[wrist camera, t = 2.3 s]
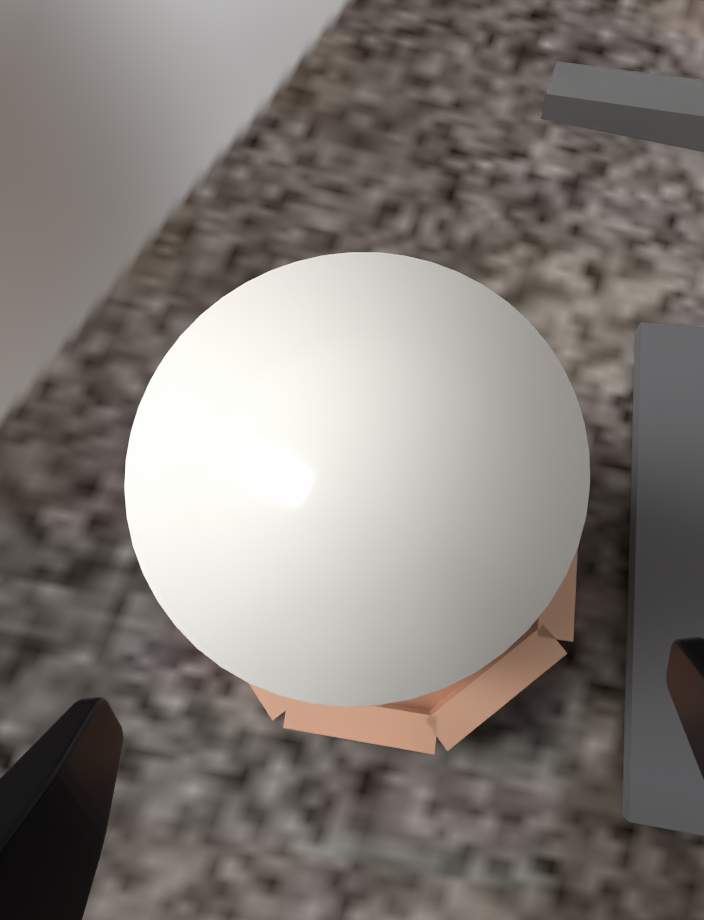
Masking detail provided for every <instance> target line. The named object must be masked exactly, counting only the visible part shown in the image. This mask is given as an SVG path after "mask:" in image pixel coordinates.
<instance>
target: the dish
mask: <svg viewBox="0 0 704 920" xmlns="http://www.w3.org/2000/svg"><path fill="white" fill-rule="evenodd" d="M577 552H578V548H577V551H576V553H575V555H574V558H573V560H572V562H571V565H570V567H569V570H568V572H567V574H566V576H565V578H564V580H563V581H562V583H561V585H560V586H559V588H558V590H557V592H556V593H555V595H554V597H553V598H552V600H551V602H550V603H549V605H548V606H547V607H546V608H545V610H544V611H543V612H542V613H541V615H540V616H539V617H538V618H537V620H536V621H535V622H534V623H533V624H532V626H531V627H530V628H529V629H528V631H526V632H525V633H524V634H523V635H522V636H521V637H520V638H519V639H518V640H517V641H516V642H515V643H514V644H512V645H511V646H510V647H509V648H508V649H507V650H506V651H505V652H504V653H503V654H501V655H500V656H498V657H497V658H496V659H494V660H493V661H491V662H490V663H488V664H487V665H485V666H484V667H483V668H481V669H480V670H478V671H477V672H475V673H473V674H472V675H470V676H468V677H466V678H464V679H462V680H460V681H458V682H456V683H454V684H452V685H450V686H448V687H446V688H443V689H440V690H437V691H434V692H431V693H429V694H426V695H423V696H420V697H417V698H414V699H409V700H404V701H399V702H393V703H388V704H383V705H372V706H350V707H343V706H333V705H323V704H312V703H308V702H304V701H300V700H296V699H292V698H287V697H283V696H279V695H277V694H274V693H272V692H269V691H267V690H264V689H262V688H259V687H257V686H254V685H252V684H249V685H250V686H251V688H252V689H253V691H254V692H255V694H256V696H257V697H258V699H259V700H260V702H261V703H262V705H263V706H264V708H265V710H266V711H267V713H268V714H269V716H270V717H271V719H272V720H274V719H275V718H277V717H278V716H279V715H281V714H282V713H283V712H285V711H286V713H285V720H284V726H283V728H287V729H293V730H298V731H304V732H310V733H315V734H321V735H327V736H332V737H338V738H344V739H349V740H355V741H361V742H366V743H372V744H378V745H383V746H389V747H395V748H400V749H406V750H412V751H417V752H423V753H429V754H434V755H435V745H436V738H438V739H439V740H440V742H441V743H442V744H443V746H444V747H445V749H446V750H447V751H448V750H450V749H451V748H452V747H453V746H454V745H456V744H457V743H458V742H459V741H461V740H462V739H463V738H464V737H466V736H467V735H468V734H469V733H470V732H472V731H473V730H474V729H475V728H477V727H478V726H479V725H480V724H481V723H483V722H484V721H485V720H486V719H488V718H489V717H490V716H491V715H493V714H494V713H495V712H496V711H497V710H499V709H500V708H501V707H502V706H504V705H505V704H506V703H508V702H509V701H510V700H511V699H512V698H513V697H515V696H516V695H517V694H518V693H519V692H521V691H522V690H523V689H524V688H526V687H527V686H528V685H529V684H531V683H532V682H533V681H534V680H535V679H537V678H538V677H539V676H540V675H542V674H543V673H544V672H545V671H546V670H548V669H549V668H550V667H551V666H553V665H554V664H555V663H556V662H558V661H559V660H560V659H561V658H562V657H564V656H565V655H566V654H567V652H566V651H565V650H564V649H563V647H562V646H561V645H560V644H559V642H558V641H557V639H558V640H565V641H572V642H573V636H574V615H575V594H576V573H577Z"/></svg>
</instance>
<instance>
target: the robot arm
mask: <svg viewBox="0 0 704 920" xmlns="http://www.w3.org/2000/svg"><path fill="white" fill-rule="evenodd" d="M666 682H667V687H668V690H669V693H670V696H671V698H672V701H673V703H674V706H675V708H676V711H677V713H678V716H679V719H680V721H681V724H682V726H683V729H684V731H685V734H686V736H687V739H688V742H689V744H690V747H691V749H692V752H693V754H694V757H695V759H696V762H697V765H698V767H699V770H700V772H701V775H702V777H703V780H704V638H701V637H692V638H683V639H676V640H675V641H674V642H673V643H672V646H671V650H670V656H669V661H668V667H667V672H666ZM122 744H123V731H122V727H121V725H120V723H119V721H118V720H117V718H116V716H115V714H114V712H113V710H112V709H111V707H110V705H109V703H108V702H107V700H106V699H104V698H101V697H98V698H88V699H81V700H79V701H77V702H76V703H74V704H73V705H72V706H71V707H70V708H69V709H68V710H67V711H66V712H65V713H64V714H63V715H62V716H61V717H60V718H59V719H58V720H57V721H56V722H55V723H54V724H53V725H52V726H51V727H50V728H49V730H48V731H47V732H46V733H45V734H44V735H43V736H42V737H41V738H40V739H39V740H38V741H37V742H36V743H35V744H34V745H33V746H32V747H31V748H30V749H29V750H28V751H27V752H26V753H25V754H24V755H23V756H22V757H21V758H20V759H19V760H18V761H17V762H16V763H15V764H14V765H13V766H12V767H11V768H10V769H9V770H8V771H7V772H6V773H5V774H4V775H3V776H2V777H1V778H0V920H82V918H83V914H84V911H85V907H86V904H87V900H88V897H89V893H90V890H91V886H92V883H93V879H94V876H95V872H96V869H97V865H98V862H99V859H100V855H101V851H102V847H103V843H104V839H105V835H106V830H107V825H108V820H109V814H110V809H111V804H112V798H113V793H114V788H115V782H116V777H117V771H118V766H119V761H120V755H121V750H122Z"/></svg>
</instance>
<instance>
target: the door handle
mask: <svg viewBox="0 0 704 920" xmlns="http://www.w3.org/2000/svg"><path fill="white" fill-rule="evenodd" d="M541 119H545V120H550V121H555V122H559V123H564V124H569V125H574V126H579V127H584V128H589V129H594V130H599V131H604V132H608V133H613V134H618V135H623V136H628V137H633V138H638V139H643V140H648V141H653V142H658V143H662V144H667V145H672V146H677V147H682V148H687V149H692V150H697V151H702V152H704V80H696V79H689V78H681V77H673V76H665V75H658V74H650V73H642V72H635V71H627V70H619V69H612V68H604V67H596V66H589V65H581V64H573V63H565V62H558V61H557V63H556V66H555V69H554V71H553V74H552V77H551V80H550V83H549V86H548V89H547V92H546V95H545V101H544V106H543V112H542V117H541Z"/></svg>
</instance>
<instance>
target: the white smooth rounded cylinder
mask: <svg viewBox="0 0 704 920" xmlns="http://www.w3.org/2000/svg"><path fill="white" fill-rule="evenodd" d="M124 490H125V502H126V514H127V521H128V525H129V530H130V535H131V539H132V544H133V548H134V550H135V553H136V556H137V558H138V561H139V564H140V567H141V569H142V572H143V575H144V577H145V578H146V580H147V582H148V584H149V586H150V588H151V590H152V592H153V594H154V595H155V597H156V599H157V601H158V602H159V604H160V605H161V607H162V608H163V609H164V611H165V612H166V613H167V615H168V616H169V618H170V619H171V620H172V622H173V623H174V625H175V626H176V627H177V628H178V629H179V630H180V631H181V632H182V633H183V634H184V635H185V636H186V637H187V638H188V639H189V640H190V641H191V643H192V644H193V645H194V646H195V647H196V648H197V649H199V650H200V651H201V652H203V653H204V654H205V655H206V656H208V657H209V658H210V659H211V660H213V661H214V662H215V663H217V664H218V665H219V666H220V667H222V668H223V669H225V670H227V671H229V672H230V673H232V674H234V675H236V676H237V677H239V678H241V679H243V680H244V681H246V682H248V683H249V684H252V685H254V686H257V687H259V688H262V689H264V690H267V691H269V692H272V693H274V694H277V695H279V696H283V697H287V698H292V699H296V700H300V701H304V702H308V703H312V704H323V705H333V706H343V707H350V706H372V705H383V704H388V703H393V702H399V701H404V700H409V699H414V698H417V697H420V696H423V695H426V694H429V693H431V692H434V691H437V690H440V689H443V688H446V687H448V686H450V685H452V684H454V683H456V682H458V681H460V680H462V679H464V678H466V677H468V676H470V675H472V674H473V673H475V672H477V671H478V670H480V669H481V668H483V667H484V666H485V665H487V664H488V663H490V662H491V661H493V660H494V659H496V658H497V657H498V656H500V655H501V654H503V653H504V652H505V651H506V650H507V649H508V648H509V647H510V646H511V645H512V644H514V643H515V642H516V641H517V640H518V639H519V638H520V637H521V636H522V635H523V634H524V633H525V632H526V631H528V629H529V628H530V627H531V626H532V624H533V623H534V622H535V621H536V620H537V618H538V617H539V616H540V615H541V613H542V612H543V611H544V610H545V608H546V607H547V606H548V605H549V603H550V602H551V600H552V598H553V597H554V595H555V593H556V592H557V590H558V588H559V586H560V585H561V583H562V581H563V580H564V578H565V576H566V574H567V572H568V570H569V567H570V565H571V562H572V560H573V558H574V555H575V553H576V551H577V548H578V546H579V542H580V538H581V534H582V530H583V527H584V523H585V519H586V515H587V507H588V498H589V490H590V456H589V447H588V441H587V435H586V429H585V423H584V420H583V416H582V413H581V410H580V407H579V404H578V400H577V397H576V394H575V392H574V390H573V388H572V386H571V383H570V381H569V379H568V377H567V375H566V373H565V371H564V369H563V367H562V365H561V363H560V362H559V360H558V359H557V357H556V356H555V354H554V353H553V351H552V350H551V348H550V347H549V345H548V343H547V342H546V341H545V340H544V339H543V337H542V336H541V335H540V334H539V333H538V331H537V330H536V329H535V328H534V327H533V326H532V324H531V323H530V322H529V321H528V320H527V319H526V318H525V317H524V316H523V315H521V314H520V313H519V312H518V311H517V310H516V309H515V308H514V307H513V306H511V305H510V304H509V303H508V302H507V301H506V300H504V299H503V298H501V297H500V296H498V295H497V294H496V293H494V292H493V291H491V290H490V289H488V288H487V287H485V286H484V285H482V284H480V283H478V282H476V281H475V280H473V279H471V278H469V277H467V276H465V275H463V274H461V273H459V272H457V271H454V270H451V269H449V268H446V267H443V266H441V265H438V264H435V263H433V262H429V261H425V260H421V259H417V258H412V257H408V256H403V255H395V254H386V253H376V252H350V253H340V254H331V255H323V256H318V257H314V258H310V259H305V260H301V261H297V262H294V263H291V264H288V265H285V266H282V267H279V268H277V269H274V270H271V271H269V272H267V273H265V274H263V275H261V276H258V277H256V278H254V279H252V280H250V281H248V282H246V283H244V284H243V285H241V286H240V287H238V288H237V289H235V290H233V291H232V292H230V293H229V294H227V295H225V296H224V297H222V298H221V299H220V300H219V301H217V302H216V303H215V304H214V305H212V306H211V307H210V308H209V309H208V310H206V311H205V312H204V313H203V314H201V315H200V316H199V317H198V318H197V319H196V320H195V321H194V322H193V323H192V324H191V325H190V326H189V328H188V329H187V330H186V331H185V332H184V333H183V334H182V335H181V336H180V337H179V339H178V340H177V341H176V342H175V344H174V345H173V346H172V348H171V349H170V350H169V351H168V353H167V354H166V355H165V357H164V358H163V360H162V362H161V363H160V365H159V367H158V368H157V370H156V372H155V373H154V375H153V377H152V378H151V380H150V382H149V384H148V387H147V389H146V391H145V393H144V396H143V398H142V400H141V402H140V404H139V407H138V410H137V414H136V417H135V420H134V423H133V427H132V430H131V434H130V439H129V445H128V451H127V456H126V467H125V488H124Z"/></svg>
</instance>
